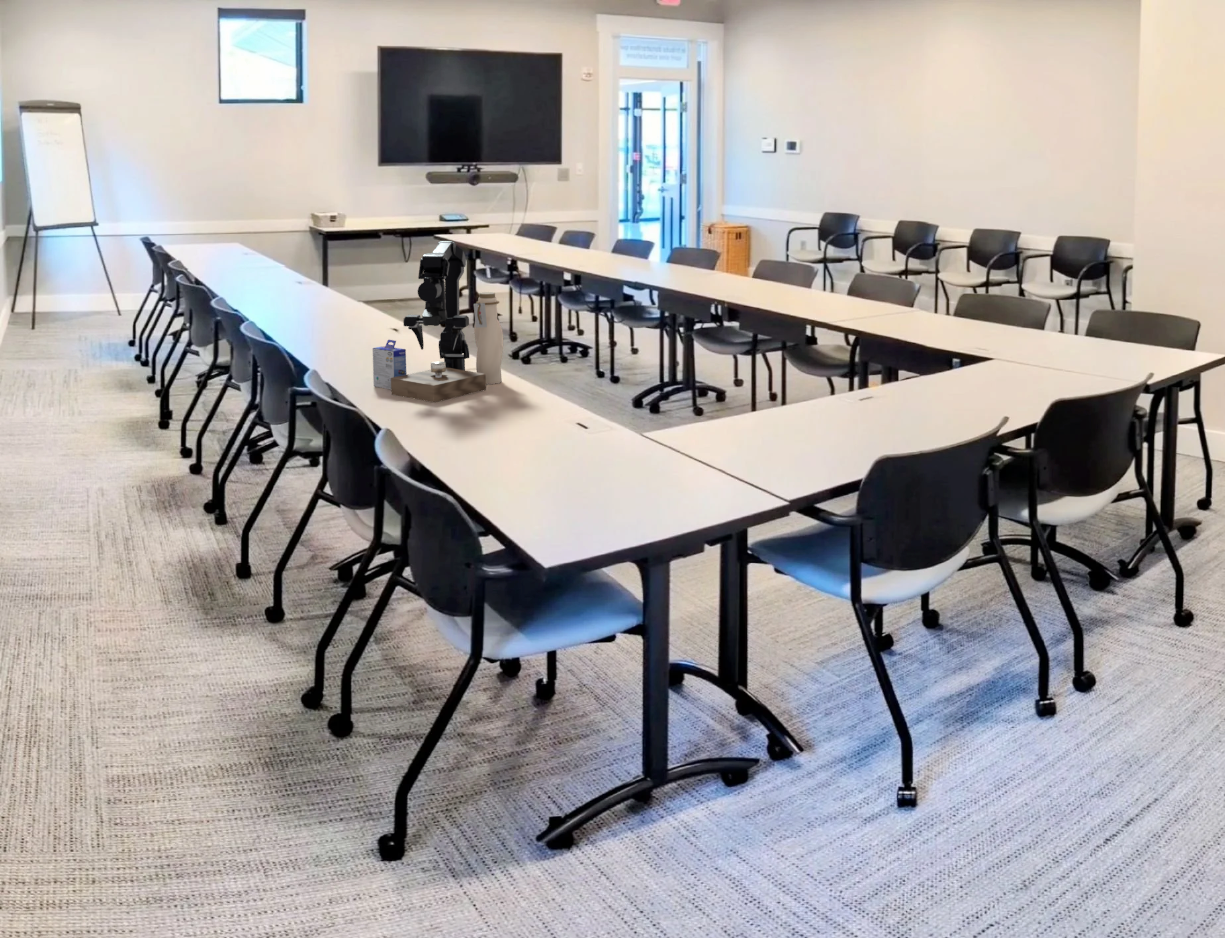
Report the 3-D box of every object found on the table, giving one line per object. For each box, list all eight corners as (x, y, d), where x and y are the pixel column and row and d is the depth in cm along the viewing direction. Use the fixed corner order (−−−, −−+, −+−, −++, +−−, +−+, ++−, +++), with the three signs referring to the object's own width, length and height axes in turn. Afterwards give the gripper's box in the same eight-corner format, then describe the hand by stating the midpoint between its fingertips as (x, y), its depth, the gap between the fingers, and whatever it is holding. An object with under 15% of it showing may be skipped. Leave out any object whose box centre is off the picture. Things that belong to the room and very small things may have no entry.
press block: (443, 382, 356) (443, 367, 355) (486, 389, 346) (485, 373, 344) (391, 394, 339) (390, 377, 338) (434, 402, 329) (433, 385, 327)
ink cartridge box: (408, 387, 348) (406, 341, 344) (395, 390, 344) (392, 343, 340) (386, 383, 354) (384, 337, 350) (373, 386, 350) (370, 340, 346)
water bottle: (498, 386, 351) (495, 295, 343) (470, 385, 353) (467, 295, 345) (507, 379, 361) (505, 291, 353) (480, 378, 362) (478, 290, 355)
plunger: (439, 389, 345) (438, 360, 343) (449, 391, 343) (448, 362, 340) (428, 391, 342) (427, 363, 339) (439, 393, 339) (438, 364, 337)
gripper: (397, 300, 327) (400, 353, 332) (461, 301, 326) (463, 354, 330) (406, 295, 338) (409, 347, 342) (468, 296, 337) (470, 348, 341)
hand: (437, 349), depth 339 cm, fingers open, 9 cm apart
